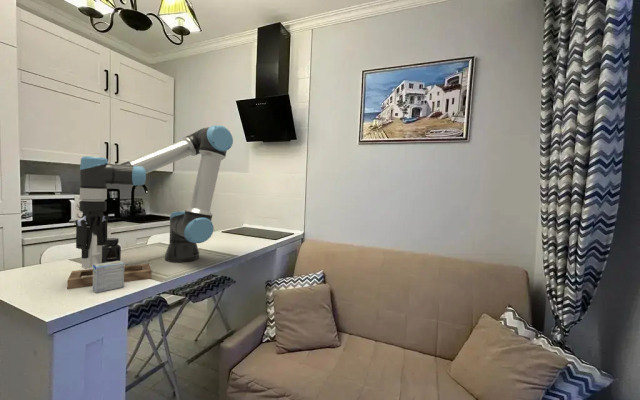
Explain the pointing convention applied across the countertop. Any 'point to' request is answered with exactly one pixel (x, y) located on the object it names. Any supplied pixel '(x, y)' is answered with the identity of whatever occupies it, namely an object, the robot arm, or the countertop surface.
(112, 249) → the supplement bottle
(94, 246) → the candle
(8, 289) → the countertop surface
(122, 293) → the countertop surface
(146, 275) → the rack block
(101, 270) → the medicine box
